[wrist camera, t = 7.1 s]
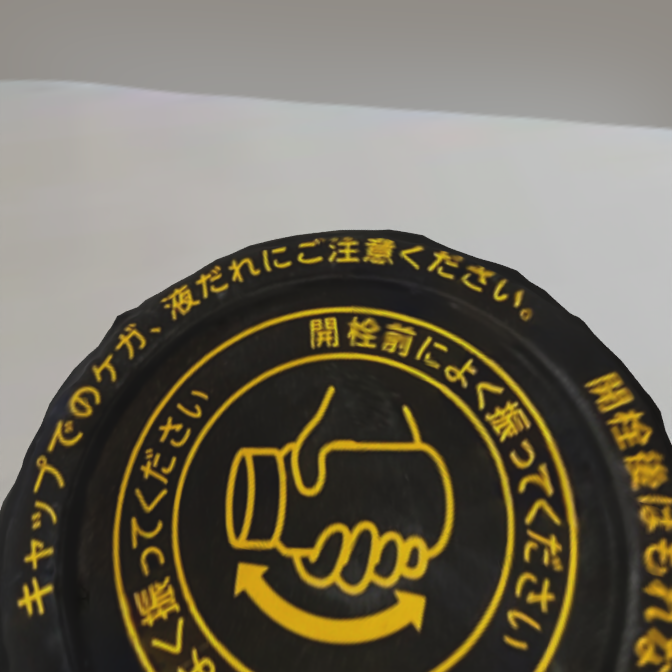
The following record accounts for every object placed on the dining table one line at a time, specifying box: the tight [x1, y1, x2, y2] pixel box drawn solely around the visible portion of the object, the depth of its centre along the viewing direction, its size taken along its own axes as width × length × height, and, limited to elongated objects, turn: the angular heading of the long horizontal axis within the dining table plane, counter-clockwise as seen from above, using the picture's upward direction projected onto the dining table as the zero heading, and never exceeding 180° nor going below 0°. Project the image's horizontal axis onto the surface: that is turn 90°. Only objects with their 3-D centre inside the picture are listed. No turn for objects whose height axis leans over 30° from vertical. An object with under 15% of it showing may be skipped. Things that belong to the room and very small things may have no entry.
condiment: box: [0, 230, 672, 672], centre depth 9 cm, size 7×8×12 cm
